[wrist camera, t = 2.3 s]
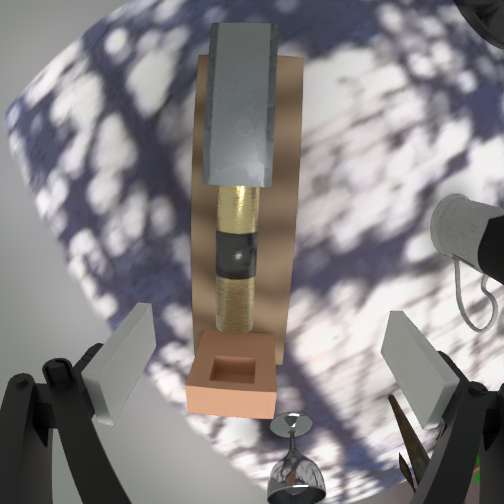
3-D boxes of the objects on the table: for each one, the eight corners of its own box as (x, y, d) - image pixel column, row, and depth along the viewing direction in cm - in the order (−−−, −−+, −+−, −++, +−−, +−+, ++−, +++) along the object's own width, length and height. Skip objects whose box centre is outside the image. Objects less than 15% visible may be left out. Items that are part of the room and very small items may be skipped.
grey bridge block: (226, 61, 30) (211, 23, 20) (274, 63, 30) (278, 23, 20) (220, 179, 34) (201, 184, 24) (269, 181, 34) (271, 187, 23)
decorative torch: (404, 374, 42) (482, 527, 13) (411, 399, 43) (477, 537, 14) (366, 393, 43) (422, 557, 14) (376, 416, 44) (425, 563, 15)
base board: (200, 57, 31) (198, 55, 30) (302, 60, 31) (303, 57, 30) (196, 355, 41) (194, 359, 40) (281, 360, 41) (282, 364, 40)
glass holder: (484, 206, 34) (557, 229, 20) (451, 297, 38) (510, 349, 23) (441, 184, 34) (518, 200, 19) (407, 285, 38) (465, 341, 23)
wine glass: (300, 403, 43) (309, 480, 29) (323, 427, 45) (335, 498, 31) (258, 422, 45) (255, 496, 30) (283, 445, 46) (286, 514, 32)
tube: (227, 50, 24) (222, 36, 21) (266, 51, 24) (267, 36, 21) (218, 315, 32) (212, 333, 28) (253, 317, 32) (252, 335, 28)
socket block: (204, 329, 39) (185, 385, 28) (274, 333, 39) (276, 392, 28) (205, 354, 40) (188, 412, 29) (271, 358, 40) (273, 418, 29)
